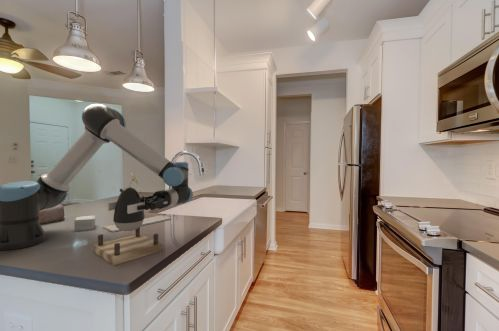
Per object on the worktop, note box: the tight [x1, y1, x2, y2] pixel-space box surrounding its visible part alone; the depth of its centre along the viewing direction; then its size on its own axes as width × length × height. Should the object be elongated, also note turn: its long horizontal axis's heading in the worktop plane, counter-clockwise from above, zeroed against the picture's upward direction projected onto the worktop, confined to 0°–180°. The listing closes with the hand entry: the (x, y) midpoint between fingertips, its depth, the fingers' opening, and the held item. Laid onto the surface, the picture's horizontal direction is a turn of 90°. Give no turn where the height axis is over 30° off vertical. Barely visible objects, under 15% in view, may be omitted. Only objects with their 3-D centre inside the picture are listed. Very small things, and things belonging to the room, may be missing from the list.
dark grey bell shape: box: [112, 187, 146, 232], centre depth 89 cm, size 10×10×15 cm
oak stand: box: [92, 226, 163, 266], centre depth 90 cm, size 17×17×6 cm
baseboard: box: [101, 213, 172, 233], centre depth 127 cm, size 31×3×12 cm
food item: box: [39, 203, 66, 225], centre depth 125 cm, size 14×8×10 cm, turn 153°
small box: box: [73, 215, 96, 232], centre depth 117 cm, size 8×8×5 cm
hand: (118, 208), depth 85 cm, fingers closed on dark grey bell shape, 9 cm apart
